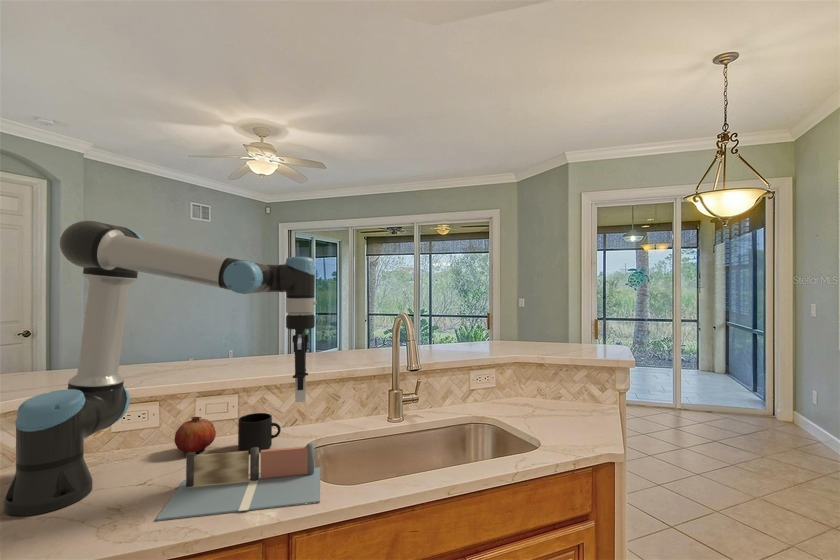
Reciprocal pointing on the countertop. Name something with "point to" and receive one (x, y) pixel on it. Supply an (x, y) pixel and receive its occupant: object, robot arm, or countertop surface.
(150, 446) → the countertop surface
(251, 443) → the mug
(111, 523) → the countertop surface
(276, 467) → the fence panel
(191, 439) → the fruit
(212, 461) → the fence fixed
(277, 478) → the mat
